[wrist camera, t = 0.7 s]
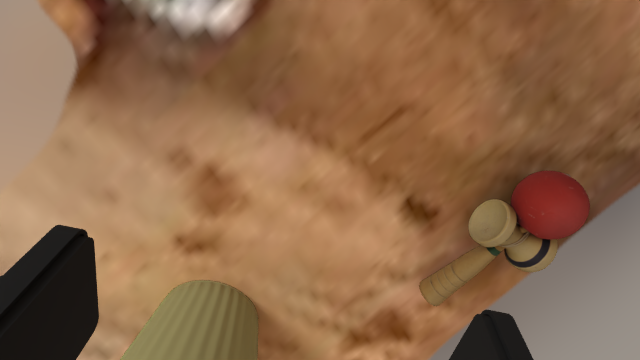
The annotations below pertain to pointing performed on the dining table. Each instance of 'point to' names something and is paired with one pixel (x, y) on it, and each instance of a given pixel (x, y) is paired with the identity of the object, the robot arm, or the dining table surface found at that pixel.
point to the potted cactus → (199, 326)
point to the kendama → (516, 231)
